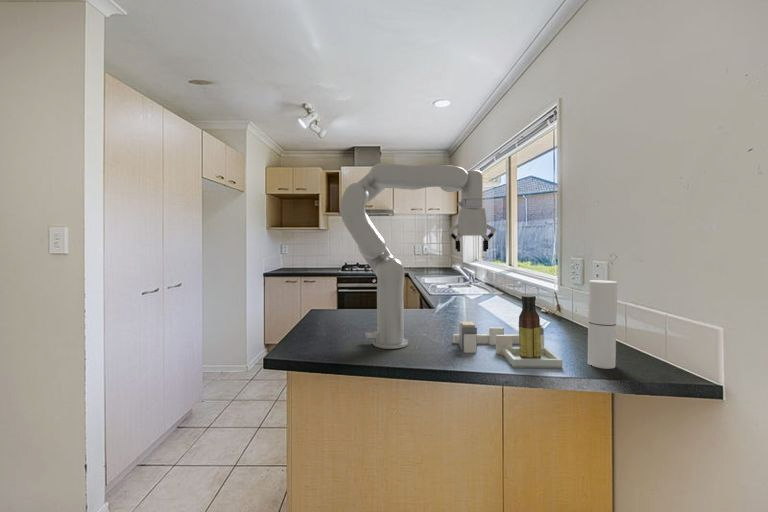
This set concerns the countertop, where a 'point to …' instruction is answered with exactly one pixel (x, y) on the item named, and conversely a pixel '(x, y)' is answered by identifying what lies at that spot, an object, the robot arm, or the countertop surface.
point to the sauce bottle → (529, 329)
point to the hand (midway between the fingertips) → (471, 251)
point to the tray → (546, 359)
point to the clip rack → (486, 338)
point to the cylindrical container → (602, 323)
